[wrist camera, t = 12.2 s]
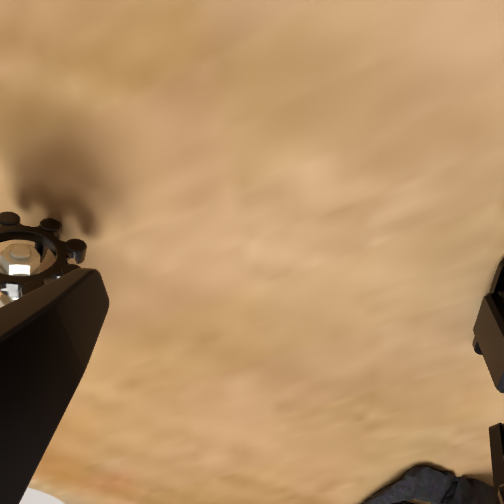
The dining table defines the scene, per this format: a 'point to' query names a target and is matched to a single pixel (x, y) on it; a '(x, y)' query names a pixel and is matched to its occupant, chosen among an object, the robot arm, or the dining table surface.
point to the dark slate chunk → (434, 489)
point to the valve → (33, 256)
